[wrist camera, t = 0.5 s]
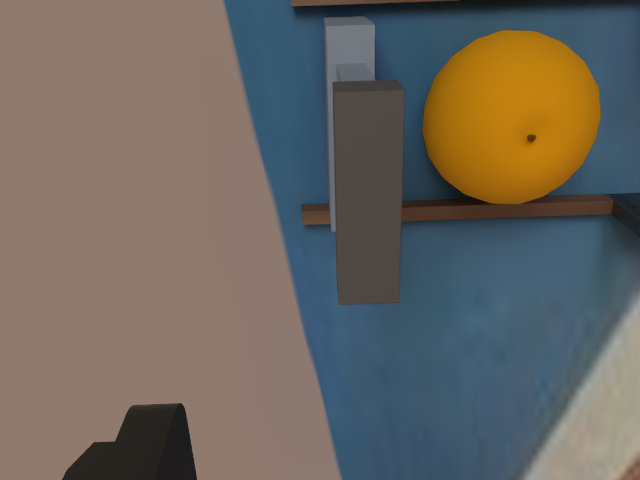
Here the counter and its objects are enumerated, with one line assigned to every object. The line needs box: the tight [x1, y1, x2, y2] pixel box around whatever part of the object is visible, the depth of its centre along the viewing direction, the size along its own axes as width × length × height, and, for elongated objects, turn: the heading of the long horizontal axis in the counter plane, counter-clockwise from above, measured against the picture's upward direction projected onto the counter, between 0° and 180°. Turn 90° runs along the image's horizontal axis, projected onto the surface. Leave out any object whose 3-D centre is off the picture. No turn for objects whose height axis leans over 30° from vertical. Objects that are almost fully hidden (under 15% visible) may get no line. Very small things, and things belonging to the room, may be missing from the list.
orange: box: [422, 30, 601, 204], centre depth 28 cm, size 8×8×8 cm
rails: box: [291, 0, 614, 225], centre depth 30 cm, size 12×17×1 cm
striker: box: [324, 16, 405, 305], centre depth 24 cm, size 9×2×14 cm, turn 2°
